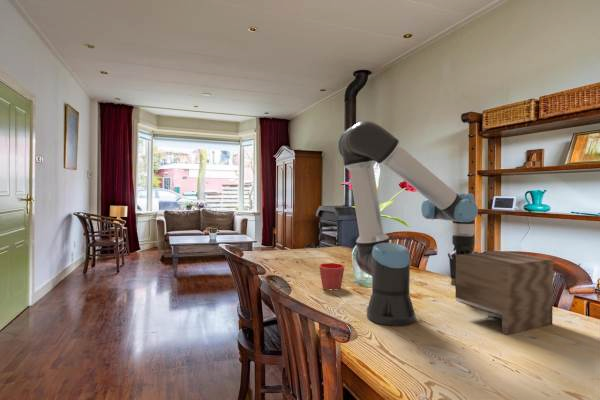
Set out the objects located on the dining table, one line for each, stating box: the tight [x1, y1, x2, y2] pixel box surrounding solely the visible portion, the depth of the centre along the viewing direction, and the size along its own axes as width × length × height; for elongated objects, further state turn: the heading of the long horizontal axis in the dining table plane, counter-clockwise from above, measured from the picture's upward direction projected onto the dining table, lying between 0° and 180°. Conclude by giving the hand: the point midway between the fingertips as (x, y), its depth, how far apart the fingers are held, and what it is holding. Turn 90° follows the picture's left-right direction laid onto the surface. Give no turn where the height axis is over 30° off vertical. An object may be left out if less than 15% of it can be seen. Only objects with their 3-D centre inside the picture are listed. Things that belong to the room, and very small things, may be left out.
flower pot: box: [319, 262, 345, 291], centre depth 152 cm, size 11×11×10 cm
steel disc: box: [484, 313, 502, 322], centre depth 115 cm, size 5×5×1 cm
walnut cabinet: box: [455, 250, 554, 336], centre depth 113 cm, size 21×18×20 cm
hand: (462, 297), depth 133 cm, fingers closed on scraper, 2 cm apart
